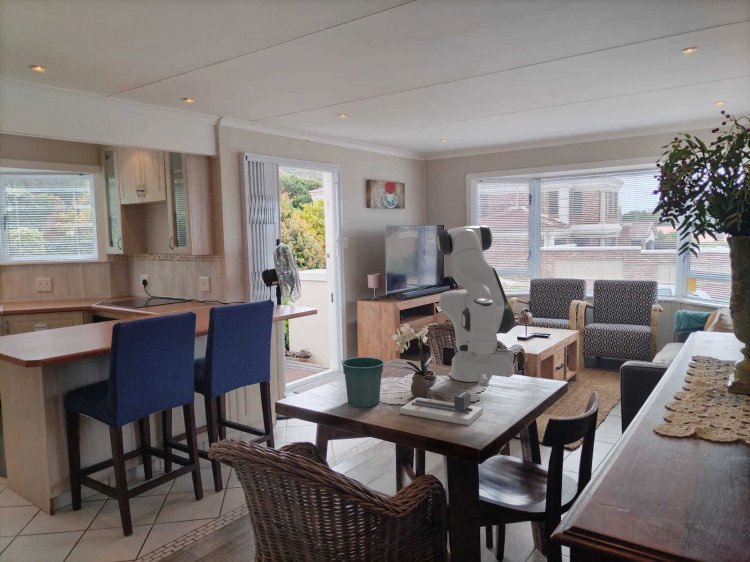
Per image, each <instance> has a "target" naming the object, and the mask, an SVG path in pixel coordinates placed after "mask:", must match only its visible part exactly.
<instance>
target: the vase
mask: <svg viewBox="0 0 750 562" xmlns="http://www.w3.org/2000/svg"><path fill="white" fill-rule="evenodd" d="M410 393H411V395H412V396H413V398H414V399H416V398H417V397H419V398H425V399H426V398H427V396H428V394H429V384H428V382H427V381H426V379H425V378H424V376H423V375H421V374H417V375H416V376H415V378H414V379H413V381H412V382H411V385H410Z"/></svg>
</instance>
